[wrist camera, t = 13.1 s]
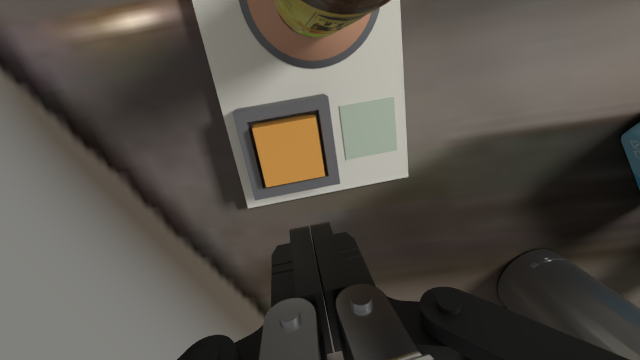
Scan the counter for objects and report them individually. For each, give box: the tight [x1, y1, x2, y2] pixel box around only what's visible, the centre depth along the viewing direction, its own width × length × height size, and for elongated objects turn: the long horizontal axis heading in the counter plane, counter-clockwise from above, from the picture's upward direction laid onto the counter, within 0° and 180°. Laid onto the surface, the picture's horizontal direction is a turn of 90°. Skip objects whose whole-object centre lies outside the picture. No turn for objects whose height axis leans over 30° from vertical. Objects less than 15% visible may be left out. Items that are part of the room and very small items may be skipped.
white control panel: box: [192, 0, 408, 208], centre depth 25 cm, size 24×16×4 cm, turn 9°
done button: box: [252, 113, 325, 187], centre depth 26 cm, size 5×5×2 cm
